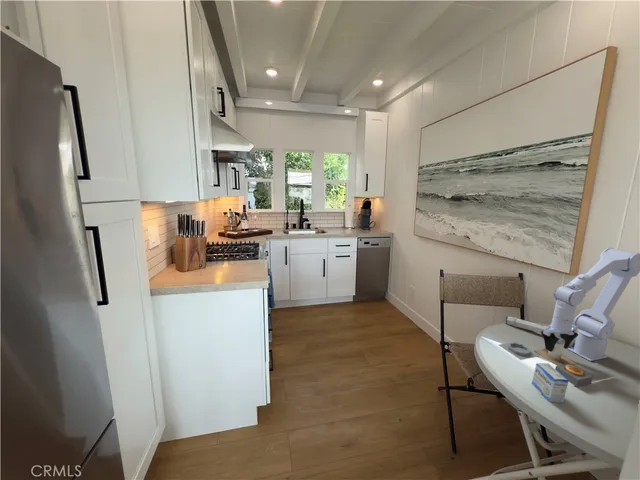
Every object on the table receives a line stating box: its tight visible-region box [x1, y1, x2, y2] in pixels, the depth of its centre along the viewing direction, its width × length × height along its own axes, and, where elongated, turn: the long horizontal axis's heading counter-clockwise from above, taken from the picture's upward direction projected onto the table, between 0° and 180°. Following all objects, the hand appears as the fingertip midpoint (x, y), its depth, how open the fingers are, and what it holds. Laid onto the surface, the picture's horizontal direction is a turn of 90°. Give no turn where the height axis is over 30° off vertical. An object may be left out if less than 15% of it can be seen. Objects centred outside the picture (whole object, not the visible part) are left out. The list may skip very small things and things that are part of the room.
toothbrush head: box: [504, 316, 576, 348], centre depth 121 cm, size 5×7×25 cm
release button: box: [565, 365, 584, 376], centre depth 94 cm, size 5×5×4 cm
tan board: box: [533, 348, 579, 366], centre depth 105 cm, size 9×10×1 cm
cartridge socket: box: [498, 341, 541, 361], centre depth 110 cm, size 10×10×2 cm
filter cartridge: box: [548, 336, 565, 360], centre depth 104 cm, size 4×4×8 cm
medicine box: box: [531, 362, 570, 404], centre depth 87 cm, size 8×4×9 cm, turn 178°
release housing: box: [554, 363, 594, 388], centre depth 94 cm, size 7×7×3 cm
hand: (556, 348), depth 104 cm, fingers open, 7 cm apart
